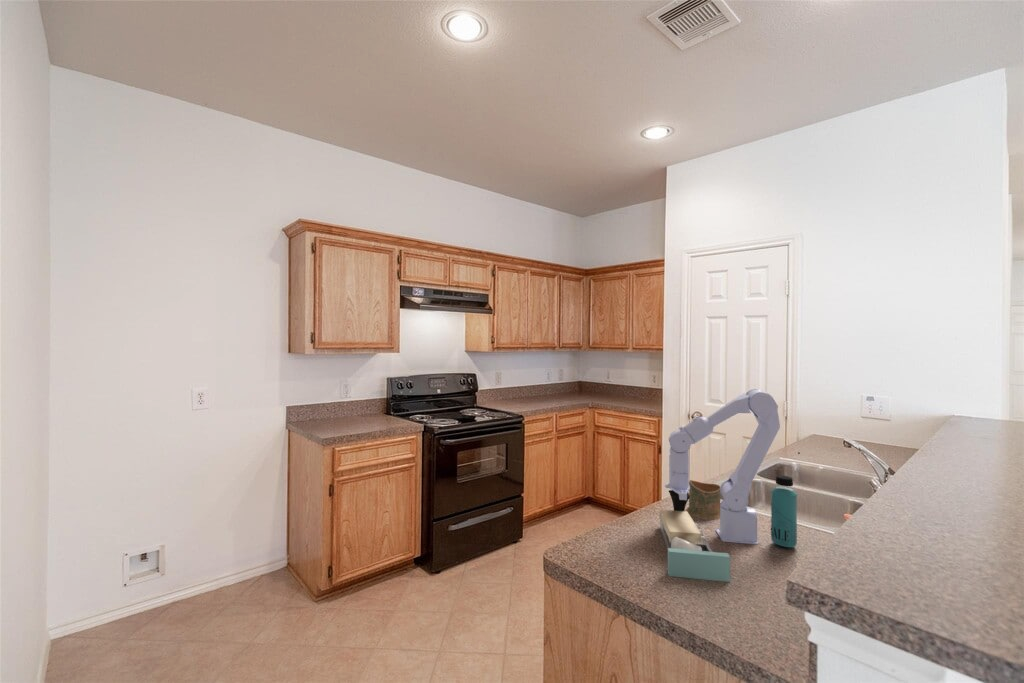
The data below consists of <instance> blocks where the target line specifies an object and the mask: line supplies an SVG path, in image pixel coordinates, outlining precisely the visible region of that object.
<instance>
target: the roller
mask: <svg viewBox="0 0 1024 683" xmlns="http://www.w3.org/2000/svg"><path fill="white" fill-rule="evenodd" d="M671 548H674V549H685V550H697V551H702V548H701V547H700V546H698V545H695V544H693V543H691V542H688V541H686V540H683V539H681V538H678V537H674V538H673V539H672V542H671Z"/></svg>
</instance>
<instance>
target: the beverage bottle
mask: <svg viewBox="0 0 1024 683" xmlns="http://www.w3.org/2000/svg"><path fill="white" fill-rule="evenodd" d="M793 481H794V480H793V478H792V477H791V476H788V475H776V478H775V484H776V485H778V486H776V487H774V488H773V489H772V490H771V491H770V492H771V503H770V505H771V508H770V512H771V514H770V539H771V542H772V543H774V545H775V544H776V545H778V546H781V547H783V548H784V547H785V548H794V547H796V546H797V544H798V524H797V523H798V522H797V521H798V520H797V519H798V518H797V516H798V515H797V514H798V493H797V492H795V490H794V489H793V488H791V487H793V486H794V483H793Z"/></svg>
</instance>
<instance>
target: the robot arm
mask: <svg viewBox="0 0 1024 683" xmlns="http://www.w3.org/2000/svg"><path fill="white" fill-rule="evenodd" d="M778 410H779V405H778V404H777V402H776V400H775V399H774V397H773V396H772V395H771V394H770V393H767V392H765V391H763V390H762V389H758V388H753V389H750V390H748V391H746V393H742V394H740V395H738V396H736V397H735V398H733V399H732V400H731V401H729V402H727V403H726V404H725V405H723V406H722V407H720V408H719V409H717V410H716V411H715V412H713V413H712V414H709V415H708V416H705V417H704V416H698V417H696V416H695V417H693V418H691V420H692V421H690V422H689V423H687V424H686V425H685V426H682V425H681V426H679V427H678V430H674V431H672V432H671V433H670V435H669V438H668V443H669V445H670V449H669V456H668V458H669V460H668V461H669V462H668V463H669V464H668V467H669V471H668V472H669V473H668V483H665V484H664V487H665V488H666V489H670V490H668V494H669V495H670V498H671V501H672V507H673V511H686V509H685V508H686V506H687V502H689V498H690V495H689V490H690V486H689V480H690V456H689V455H690V454H689V450H690V449H691V445H695V444H696V443H698V442H700V441H701V440H703V439H705V438H707V437H708V436H710V435H711V434H713V431H714V428H715V427H716V426H718V425H720V424H721V423H723V422H725V421H726V420H728V419H731V418H732V417H733V416H736V415H737V414H751V413H753V415H754V417H755V419H756V422H757V424H758V425H757V427H756V429H755V431H754V434H753V435H752V436H751V439H750V441H749V442H748V445H747V447H746V448H745V450H744V452H743V455H742V456H741V458H740V460H739V462H738V463H737V464H738V465H737V466H736V468H735V470H734V471H733V472H732V473H731V474H730V475H729V477H728V478H727V480H725V481H723V482H722V484H721V485H720V492H721V496H722V498H723V499H722V500H721V501H720V519H719V520H720V521H719V528H717V529H715V531H716V533H717V535H718V537H719V538H720V540H721V541H722V542H724V543H736V544H747V545H759V542H758V516H757V512H756V510H755V508H751V507H748V505H749V497H750V496H749V495H750V493H751V491H752V483H753V480H754V479H755V476H756V474H757V472H758V471H759V469H760V467H761V465H762V464H763V461H764V459H765V458H766V455H767V453H768V452H769V450H770V448H771V446H772V444H773V442H774V440H775V439H776V436H777V435H778V432H779V430H780V428H781V426H780V425H781V424H780V418H779V411H778Z"/></svg>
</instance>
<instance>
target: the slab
mask: <svg viewBox="0 0 1024 683" xmlns="http://www.w3.org/2000/svg"><path fill="white" fill-rule="evenodd" d="M658 519H659V521H660V520H661V522H662V525H663V527H664V529H665V531H666V533H667V535H668V538H669V540H670V541H672V539H673V538H674V537H678V538H681V539H683V540H686V541H688V542H693V543H701V532H700V531H699V529H698V528H697V526H696V524H695V523H694V519H693V518H692V516H691V515H690V514H689V513H688V512H687V511H686V510H684V511H674V509H673V510H671V509H669V510H668V509H659V518H658Z"/></svg>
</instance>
